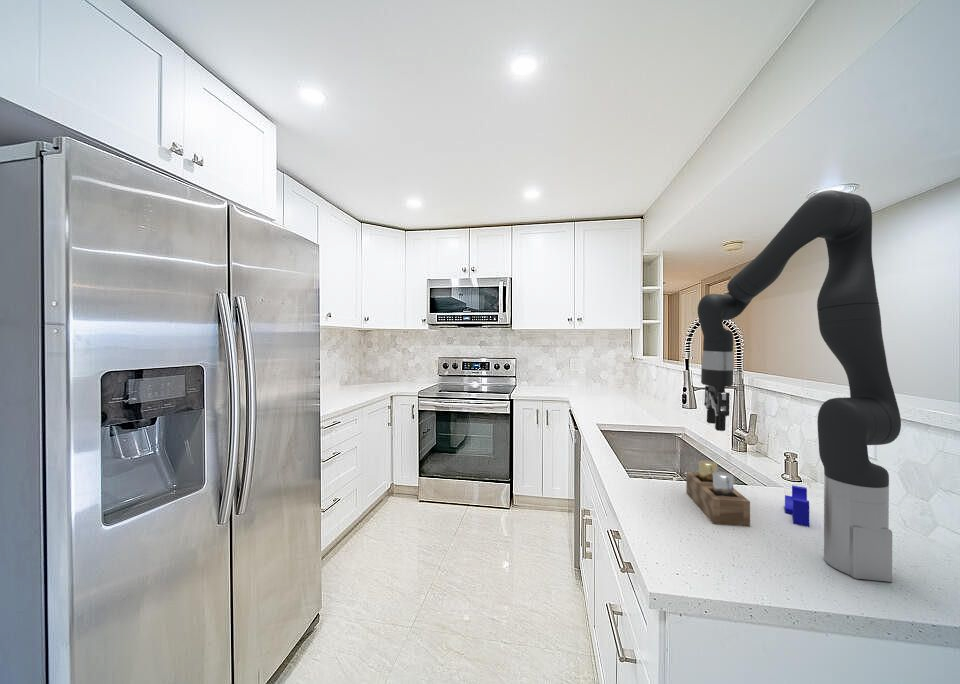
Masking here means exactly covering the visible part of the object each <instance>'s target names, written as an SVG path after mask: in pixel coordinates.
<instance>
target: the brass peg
mask: <svg viewBox="0 0 960 684" xmlns="http://www.w3.org/2000/svg"><path fill="white" fill-rule="evenodd" d="M714 472H718V463H717V462H716V461H712V460H706V459H705V460H702V459H701V460H699V461H698V473H699V480H700V481H701V482H713V473H714Z"/></svg>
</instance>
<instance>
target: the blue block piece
mask: <svg viewBox="0 0 960 684" xmlns="http://www.w3.org/2000/svg"><path fill="white" fill-rule="evenodd" d="M784 513H785V514H787V515H792V523H793V524H794V525H797V526H802V527H803V526H804V527H807V526H808V527H807V528H809V527H810V500H808V488H807V487H806V486H805V487H804V486H798V485H793V484H792V485H791V495H786V494H785V495H784Z"/></svg>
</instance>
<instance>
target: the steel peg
mask: <svg viewBox="0 0 960 684" xmlns="http://www.w3.org/2000/svg"><path fill="white" fill-rule="evenodd" d="M733 488H734V475H733V474H731V473H728V472H723V471H717V472H714V473H713V493H714V494H715V495H716V496H727V497H733Z"/></svg>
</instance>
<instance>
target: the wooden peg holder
mask: <svg viewBox="0 0 960 684" xmlns="http://www.w3.org/2000/svg"><path fill="white" fill-rule="evenodd" d="M685 477H686V479H685V481H686V484H685V485H686V489H685V491H686V492H685V493H686V494H687V495H688V497H690V499H691V500H692V501H693V502H694V503H695V504H696V506H698V508H699V509H700V510H701V511H702V512H703V514H704V515H705V516H706V517H707V518H708V519H709V521H710V522H711V523H712V524H713V525H724V526H736V527H749V528H750V527H751V501H750V500H749V499H747V497H745V496H743V494H741V492H739V491H738V490H737V489H735V488H734V487H733V497H727V496H716V495H715V494H714V493H713V482H701V481H700V480H699V472H691V471H690V472H689V471H686V476H685Z"/></svg>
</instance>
